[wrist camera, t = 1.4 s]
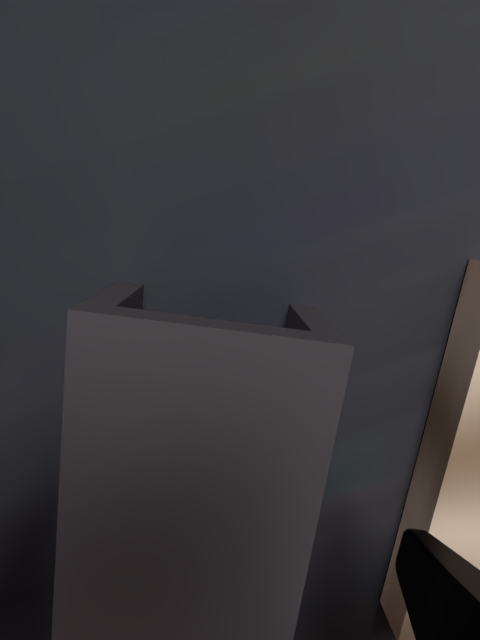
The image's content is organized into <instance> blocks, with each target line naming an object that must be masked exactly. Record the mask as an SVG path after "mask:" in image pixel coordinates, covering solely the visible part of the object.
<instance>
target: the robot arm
mask: <svg viewBox="0 0 480 640" xmlns="http://www.w3.org/2000/svg"><path fill="white" fill-rule="evenodd" d="M395 568H396V574H397V578H398V581H399V585H400V588H401V591H402V595H403V598H404V602H405V605H406V609H407V612H408V615H409V619H410V622H411V626H412V629H413V633H414V636H415V639H416V640H480V570H479V569H478V568H476V567H475V566H474V565H472V564H471V563H470V562H468V561H467V560H465V559H464V558H463V557H461V556H460V555H459V554H457V553H456V552H455V551H453V550H452V549H450V548H449V547H448V546H446V545H445V544H444V543H442V542H441V541H440V540H438V539H437V538H435V537H434V536H433V535H431V534H430V533H429V532H427V531H425V530H421V529H410V528H408V529H406V530H405V531H404V532H403V534H402V538H401V542H400V546H399V549H398V553H397V557H396V563H395Z"/></svg>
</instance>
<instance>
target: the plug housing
mask: <svg viewBox="0 0 480 640" xmlns="http://www.w3.org/2000/svg"><path fill="white" fill-rule="evenodd" d="M143 288H144V285H141V284H134V283H126V282H117V283H115V284H113V285H111V286H110V287H108V288H106V289H104V290H102V291H101V292H99V293H97V294H95V295H93V296H91V297H90V298H88V299H86V300H84V301H82V302H81V303H79V304H77V305H75V306H73V307H71V308H70V309H68V314H67V335H66V355H65V375H64V395H63V415H62V435H61V455H60V475H59V495H58V515H57V535H56V555H55V575H54V595H53V615H52V636H51V640H293V638H294V633H295V629H296V624H297V619H298V614H299V610H300V605H301V600H302V595H303V591H304V586H305V581H306V576H307V572H308V567H309V562H310V557H311V553H312V548H313V543H314V538H315V534H316V529H317V524H318V519H319V514H320V510H321V505H322V500H323V495H324V491H325V486H326V481H327V476H328V472H329V467H330V462H331V457H332V453H333V448H334V443H335V438H336V434H337V429H338V424H339V419H340V415H341V410H342V405H343V400H344V396H345V391H346V386H347V381H348V377H349V372H350V367H351V362H352V357H353V353H354V348H355V345H353V344H352V343H351V342H350V341H349V340H348V339H347V338H346V337H345V336H344V335H343V334H342V333H341V332H339V331H338V330H337V329H336V328H335V327H334V326H333V325H332V324H331V323H330V322H329V321H328V320H326V319H325V318H324V317H323V316H322V315H321V314H320V313H319V312H318V311H317V310H316V309H315V308H313V307H308V306H300V305H293V304H289V310H288V316H287V322H286V328H283V327H275V326H267V325H259V324H251V323H244V322H236V321H228V320H220V319H212V318H205V317H197V316H189V315H181V314H173V313H166V312H158V311H150V310H142V299H143Z"/></svg>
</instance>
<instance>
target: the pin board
mask: <svg viewBox="0 0 480 640" xmlns="http://www.w3.org/2000/svg"><path fill="white" fill-rule="evenodd" d="M408 528H410V529H421V530H425V531H427V532H429V533H430V534H431V535H433V536H434V537H435V538H437V539H438V540H440V541H441V542H442V543H444V544H445V545H446V546H448V547H449V548H450V549H452V550H453V551H455V552H456V553H457V554H459V555H460V556H461V557H463V558H464V559H465V560H467V561H468V562H470V563H471V564H472V565H474V566H475V567H476V568H478V569H479V570H480V260H476V259H469V262H468V266H467V270H466V273H465V277H464V281H463V285H462V289H461V293H460V296H459V300H458V304H457V308H456V312H455V315H454V319H453V323H452V327H451V331H450V335H449V338H448V342H447V346H446V350H445V354H444V358H443V361H442V365H441V369H440V373H439V377H438V381H437V384H436V388H435V392H434V396H433V400H432V403H431V407H430V411H429V415H428V419H427V423H426V426H425V430H424V434H423V438H422V442H421V446H420V449H419V453H418V457H417V461H416V465H415V469H414V472H413V476H412V480H411V484H410V488H409V491H408V495H407V499H406V503H405V507H404V511H403V514H402V518H401V522H400V526H399V530H398V534H397V537H396V541H395V545H394V549H393V553H392V557H391V560H390V564H389V568H388V572H387V576H386V579H385V583H384V587H383V591H382V595H381V599H380V603H381V605H382V607H383V610H384V612H385V615H386V617H387V620H388V622H389V624H390V627H391V629H392V632H393V634H394V636H395V639H396V640H416V639H415V636H414V633H413V629H412V626H411V622H410V619H409V615H408V612H407V609H406V605H405V602H404V598H403V595H402V591H401V588H400V585H399V581H398V578H397V574H396V568H395V563H396V557H397V553H398V549H399V546H400V542H401V538H402V534H403V532H404V531H405V530H406V529H408Z"/></svg>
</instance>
